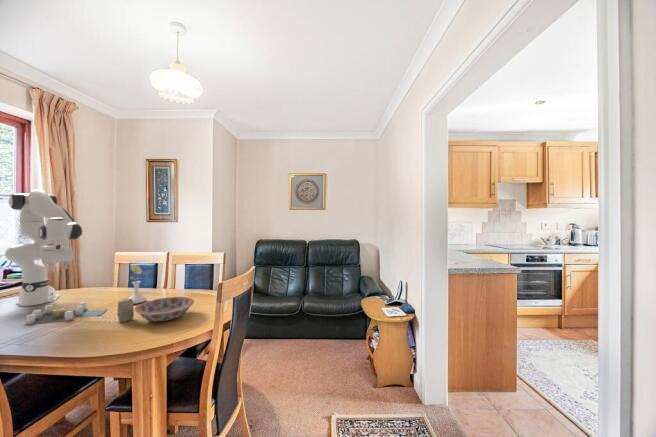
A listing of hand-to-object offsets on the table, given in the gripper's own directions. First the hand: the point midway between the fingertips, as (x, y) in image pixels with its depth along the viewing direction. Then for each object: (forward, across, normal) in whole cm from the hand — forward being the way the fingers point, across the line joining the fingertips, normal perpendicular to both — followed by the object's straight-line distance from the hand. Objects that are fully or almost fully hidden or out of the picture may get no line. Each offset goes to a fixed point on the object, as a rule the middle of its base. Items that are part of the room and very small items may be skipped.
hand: (59, 270), depth 157 cm
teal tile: (+28, -3, +14) cm, 31 cm away
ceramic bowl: (+31, +13, +57) cm, 66 cm away
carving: (+30, +12, +37) cm, 49 cm away
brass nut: (+26, -1, -2) cm, 26 cm away
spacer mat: (+27, -1, -2) cm, 27 cm away
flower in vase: (+28, -22, +29) cm, 46 cm away
